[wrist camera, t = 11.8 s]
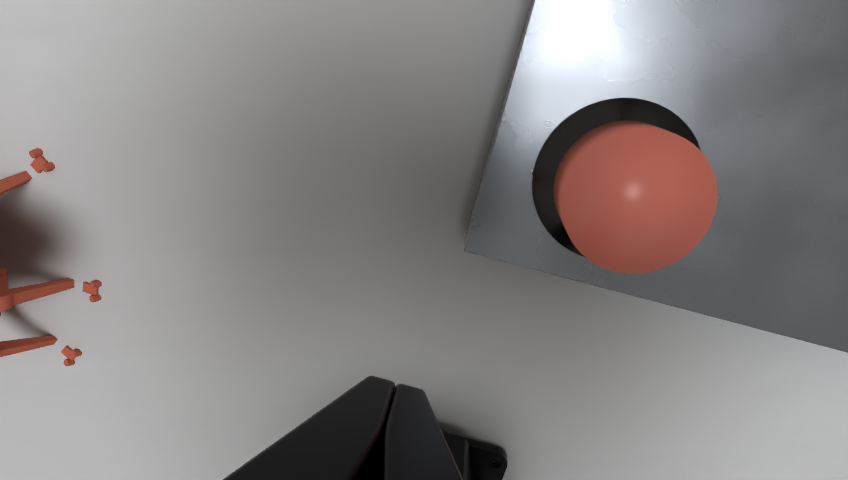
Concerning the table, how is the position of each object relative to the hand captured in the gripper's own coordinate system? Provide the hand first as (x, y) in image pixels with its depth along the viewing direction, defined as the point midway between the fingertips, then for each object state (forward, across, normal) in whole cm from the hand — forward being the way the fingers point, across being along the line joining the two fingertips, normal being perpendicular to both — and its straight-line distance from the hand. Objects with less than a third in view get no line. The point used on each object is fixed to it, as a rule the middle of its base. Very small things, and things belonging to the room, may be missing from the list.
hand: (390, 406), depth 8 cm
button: (+10, -5, -3) cm, 11 cm away
